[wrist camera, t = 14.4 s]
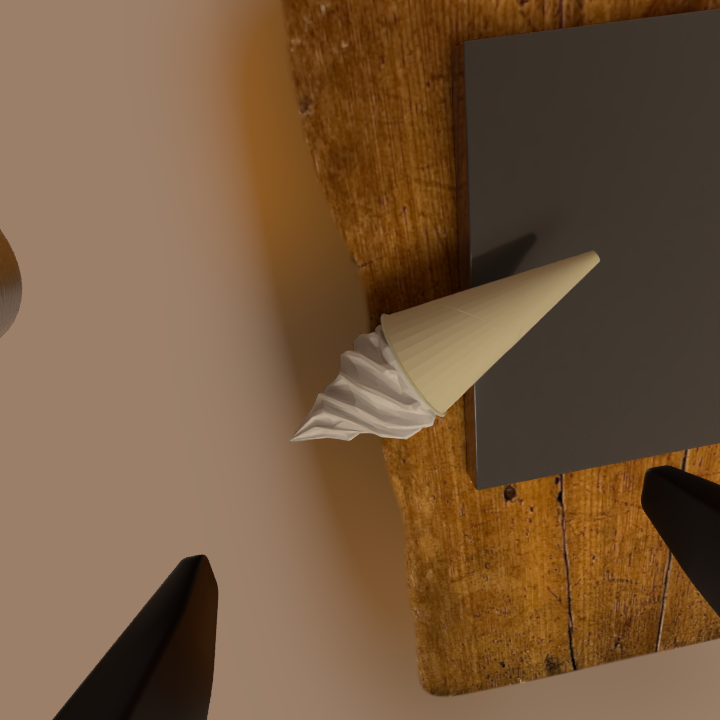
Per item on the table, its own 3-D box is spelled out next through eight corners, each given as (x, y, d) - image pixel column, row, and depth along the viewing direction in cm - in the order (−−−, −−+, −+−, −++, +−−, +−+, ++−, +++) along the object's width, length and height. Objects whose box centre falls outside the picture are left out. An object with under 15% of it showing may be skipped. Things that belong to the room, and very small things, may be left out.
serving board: (466, 473, 25) (476, 491, 24) (450, 50, 17) (463, 40, 16) (700, 428, 26) (722, 442, 25) (791, 6, 18) (831, -7, 17)
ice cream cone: (637, 332, 18) (332, 493, 22) (566, 244, 20) (304, 404, 25) (642, 273, 14) (265, 486, 18) (551, 171, 16) (239, 380, 20)
